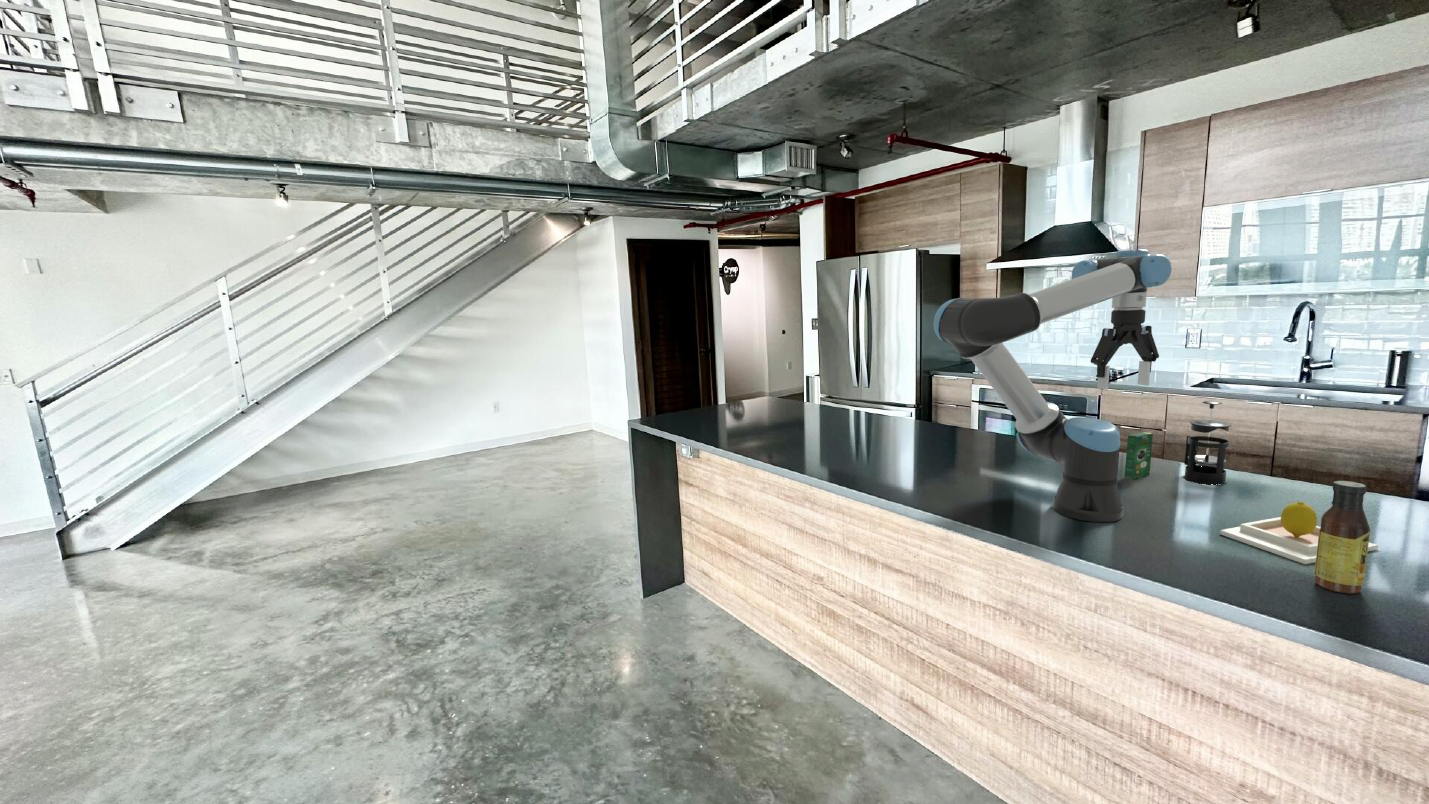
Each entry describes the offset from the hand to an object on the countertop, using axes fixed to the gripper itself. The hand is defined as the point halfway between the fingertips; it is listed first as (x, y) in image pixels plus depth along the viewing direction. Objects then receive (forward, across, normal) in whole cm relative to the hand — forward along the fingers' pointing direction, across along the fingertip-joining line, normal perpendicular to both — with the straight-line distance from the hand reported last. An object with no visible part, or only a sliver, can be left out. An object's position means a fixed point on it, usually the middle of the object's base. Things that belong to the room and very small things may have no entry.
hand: (1123, 387), depth 160 cm
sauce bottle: (+29, -12, -57) cm, 65 cm away
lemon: (+28, +3, -41) cm, 50 cm away
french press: (+29, +26, -4) cm, 39 cm away
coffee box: (+29, +13, +5) cm, 32 cm away
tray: (+29, +3, -41) cm, 50 cm away
